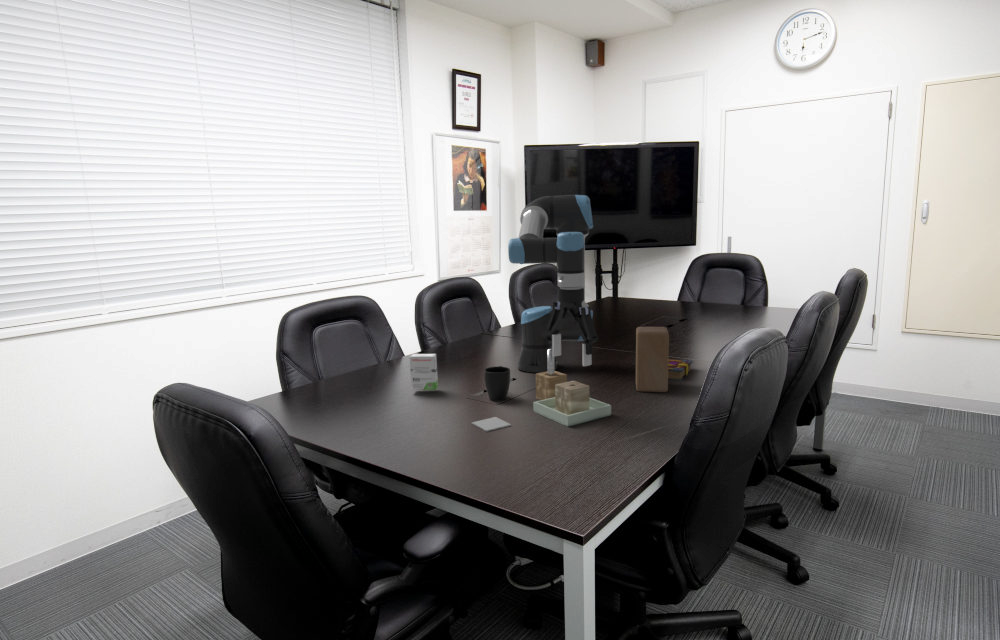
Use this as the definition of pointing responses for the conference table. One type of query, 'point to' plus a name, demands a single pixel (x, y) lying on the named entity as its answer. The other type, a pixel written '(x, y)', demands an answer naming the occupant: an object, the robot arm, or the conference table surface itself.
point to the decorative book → (678, 368)
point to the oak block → (548, 384)
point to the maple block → (571, 397)
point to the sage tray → (594, 412)
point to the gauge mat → (491, 424)
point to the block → (652, 359)
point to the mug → (497, 382)
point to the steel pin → (550, 363)
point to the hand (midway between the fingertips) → (571, 360)
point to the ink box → (423, 372)
